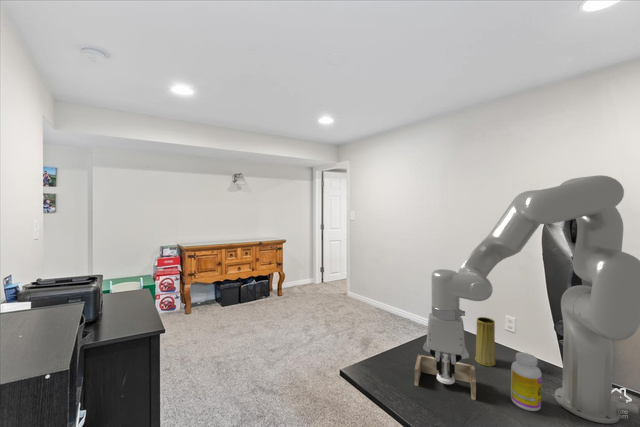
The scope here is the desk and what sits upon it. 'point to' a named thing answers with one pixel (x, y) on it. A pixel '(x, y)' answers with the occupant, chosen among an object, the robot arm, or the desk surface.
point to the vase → (485, 341)
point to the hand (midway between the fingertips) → (445, 373)
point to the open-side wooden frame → (461, 371)
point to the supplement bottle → (526, 382)
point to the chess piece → (445, 371)
